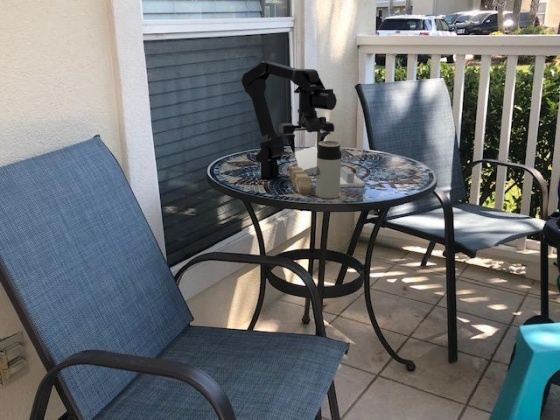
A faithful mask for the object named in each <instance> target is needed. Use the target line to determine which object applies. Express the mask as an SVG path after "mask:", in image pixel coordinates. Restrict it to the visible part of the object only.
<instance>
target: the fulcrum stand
mask: <svg viewBox="0 0 560 420" xmlns="http://www.w3.org/2000/svg"><path fill="white" fill-rule="evenodd" d="M365 185H366V184H365V182H364V181H363V180H361V179H360V178H359V177H358V176H356V174H355V173H354V172H353V171H352V170H351V169H349V168H348V167H347V166H341V173H340V188H345V187H346V188H348V187H350V188H351V187H365Z"/></svg>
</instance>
